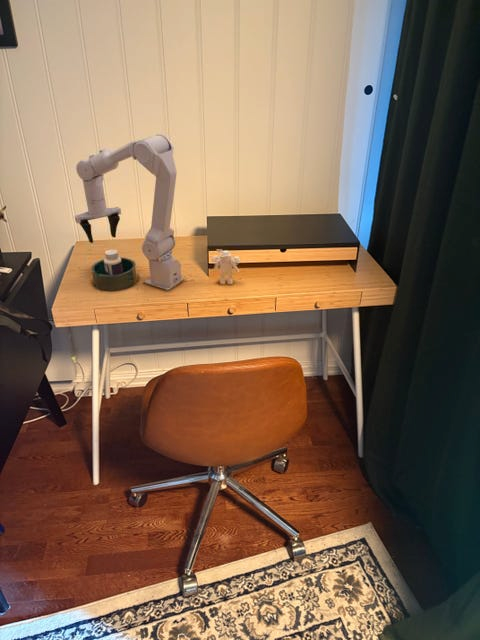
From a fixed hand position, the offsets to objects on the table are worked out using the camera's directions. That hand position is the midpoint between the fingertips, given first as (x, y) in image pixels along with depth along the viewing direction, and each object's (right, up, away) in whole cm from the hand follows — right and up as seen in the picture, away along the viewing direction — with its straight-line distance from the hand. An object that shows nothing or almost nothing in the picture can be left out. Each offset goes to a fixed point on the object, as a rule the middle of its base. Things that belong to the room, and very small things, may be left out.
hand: (102, 239), depth 155 cm
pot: (+5, -14, -3) cm, 15 cm away
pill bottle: (+5, -14, -3) cm, 15 cm away
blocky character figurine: (+41, -15, -4) cm, 43 cm away
